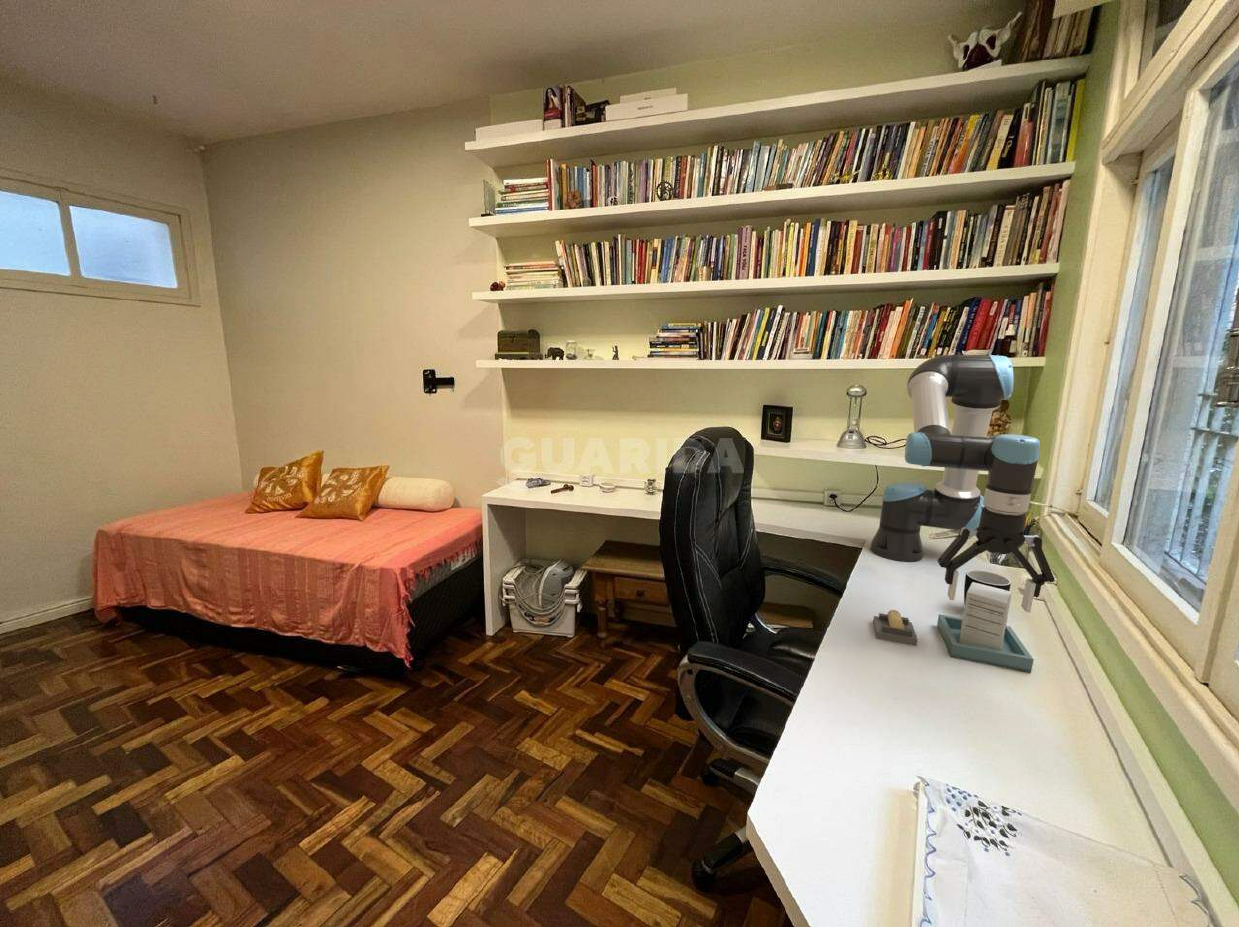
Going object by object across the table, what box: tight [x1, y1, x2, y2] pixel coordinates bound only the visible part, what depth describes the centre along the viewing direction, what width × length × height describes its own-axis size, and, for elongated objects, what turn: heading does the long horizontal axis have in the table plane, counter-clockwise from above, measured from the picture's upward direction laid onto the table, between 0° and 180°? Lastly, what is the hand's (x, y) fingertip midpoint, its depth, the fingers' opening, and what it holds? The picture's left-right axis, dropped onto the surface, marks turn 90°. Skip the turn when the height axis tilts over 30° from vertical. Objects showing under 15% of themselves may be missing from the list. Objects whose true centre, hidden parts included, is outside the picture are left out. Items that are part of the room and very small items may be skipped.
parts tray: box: [936, 613, 1035, 674], centre depth 110 cm, size 14×14×3 cm
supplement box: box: [959, 582, 1013, 651], centre depth 109 cm, size 7×7×13 cm
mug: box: [963, 569, 1012, 606], centre depth 125 cm, size 12×9×10 cm
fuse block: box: [872, 609, 919, 647], centre depth 115 cm, size 8×8×4 cm
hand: (987, 603), depth 109 cm, fingers open, 13 cm apart
